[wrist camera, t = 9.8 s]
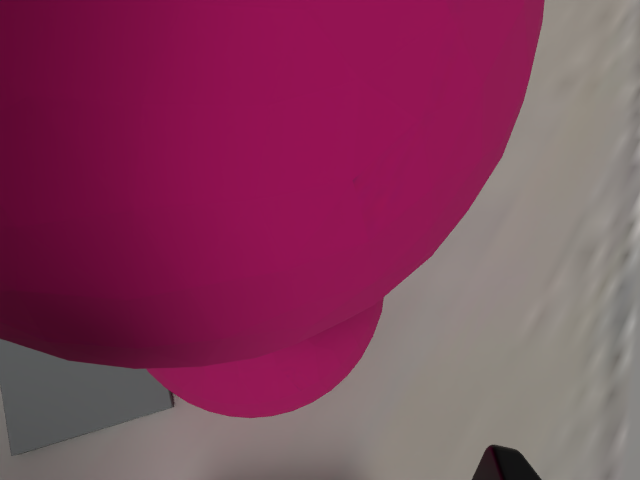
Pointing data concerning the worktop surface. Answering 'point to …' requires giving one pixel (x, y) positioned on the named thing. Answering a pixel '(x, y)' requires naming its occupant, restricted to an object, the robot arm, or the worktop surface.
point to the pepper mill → (240, 177)
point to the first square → (69, 396)
